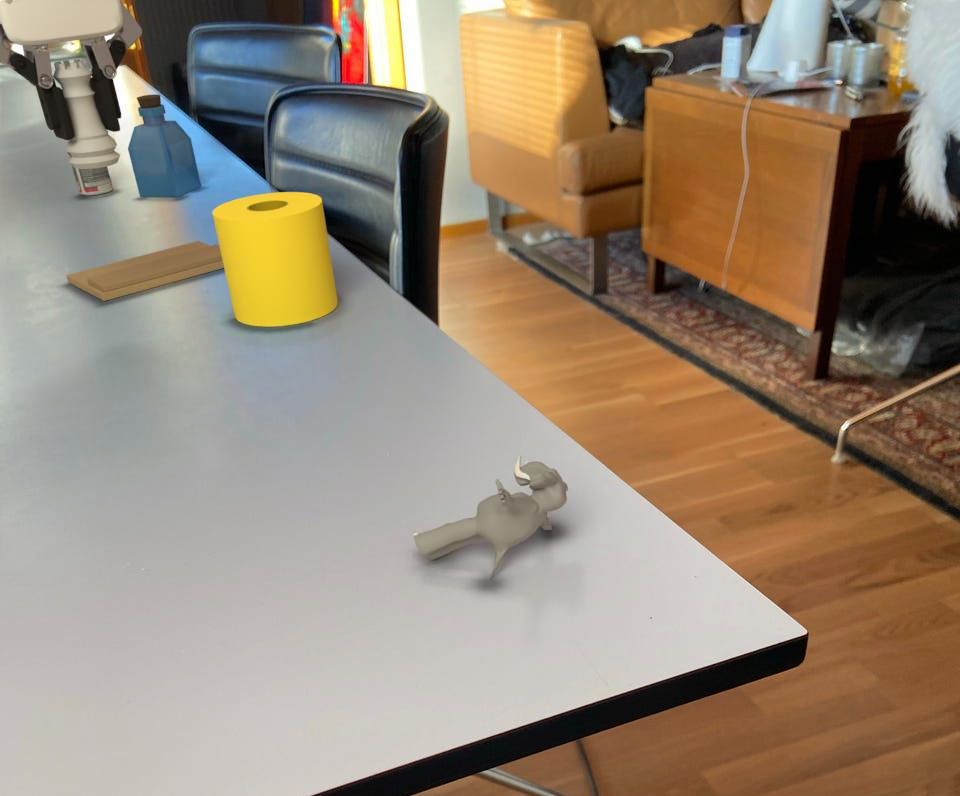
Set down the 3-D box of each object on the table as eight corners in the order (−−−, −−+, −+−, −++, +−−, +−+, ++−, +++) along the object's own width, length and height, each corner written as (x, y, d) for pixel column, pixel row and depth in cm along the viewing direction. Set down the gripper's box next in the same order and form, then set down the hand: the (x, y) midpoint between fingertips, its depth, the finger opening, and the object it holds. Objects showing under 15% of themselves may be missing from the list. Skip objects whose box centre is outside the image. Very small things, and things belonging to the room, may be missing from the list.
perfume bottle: (177, 196, 141) (155, 100, 134) (140, 196, 143) (115, 101, 136) (201, 185, 145) (180, 91, 138) (164, 185, 147) (142, 93, 140)
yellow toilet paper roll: (234, 332, 94) (211, 226, 88) (234, 299, 102) (213, 200, 96) (342, 317, 95) (325, 212, 90) (333, 286, 103) (318, 187, 98)
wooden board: (104, 301, 105) (100, 287, 104) (68, 282, 111) (64, 269, 110) (241, 263, 112) (238, 250, 111) (200, 247, 119) (197, 235, 118)
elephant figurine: (439, 516, 64) (573, 465, 61) (464, 606, 63) (601, 558, 61) (372, 484, 55) (527, 423, 52) (401, 589, 54) (560, 532, 51)
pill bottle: (120, 188, 148) (103, 125, 143) (96, 196, 145) (79, 132, 140) (96, 187, 150) (78, 124, 145) (72, 195, 146) (54, 131, 141)
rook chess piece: (120, 156, 93) (95, 56, 88) (123, 165, 89) (98, 61, 84) (69, 162, 92) (41, 61, 87) (71, 172, 88) (42, 67, 83)
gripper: (104, -132, 84) (158, 114, 95) (-106, -121, 77) (-21, 145, 88) (140, -137, 79) (193, 122, 90) (-81, -125, 72) (7, 156, 83)
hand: (87, 131), depth 89 cm, fingers closed on rook chess piece, 3 cm apart
